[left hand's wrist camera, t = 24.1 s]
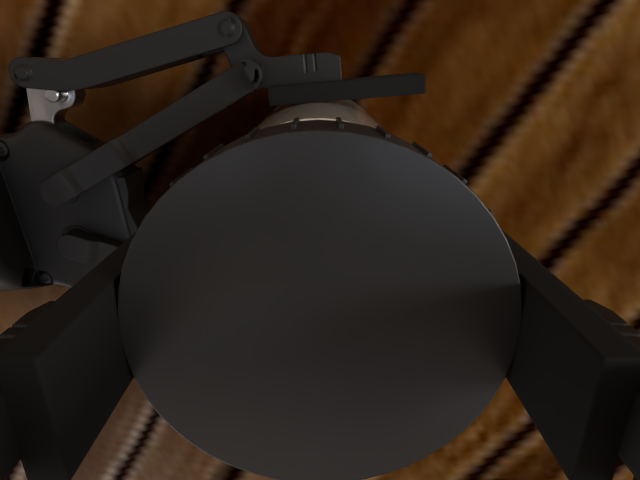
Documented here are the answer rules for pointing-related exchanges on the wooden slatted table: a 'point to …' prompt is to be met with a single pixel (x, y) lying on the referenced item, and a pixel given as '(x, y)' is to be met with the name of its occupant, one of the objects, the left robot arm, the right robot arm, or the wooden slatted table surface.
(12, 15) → the wooden slatted table surface
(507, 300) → the lid
